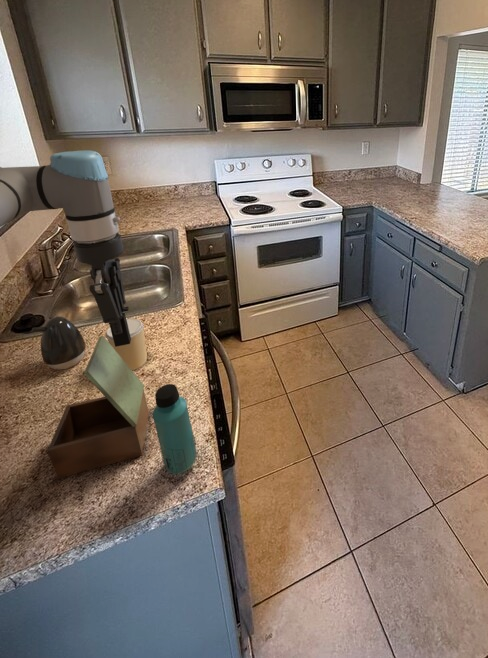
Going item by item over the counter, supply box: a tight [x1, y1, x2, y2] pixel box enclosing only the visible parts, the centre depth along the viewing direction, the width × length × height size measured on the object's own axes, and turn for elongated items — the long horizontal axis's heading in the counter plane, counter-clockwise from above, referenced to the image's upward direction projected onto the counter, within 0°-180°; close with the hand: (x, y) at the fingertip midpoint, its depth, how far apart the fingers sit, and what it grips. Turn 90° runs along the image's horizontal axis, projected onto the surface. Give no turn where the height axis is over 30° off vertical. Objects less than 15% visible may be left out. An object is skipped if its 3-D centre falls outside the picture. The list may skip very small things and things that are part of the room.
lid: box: [83, 335, 145, 427], centre depth 76 cm, size 17×12×1 cm
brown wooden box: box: [46, 390, 150, 479], centre depth 78 cm, size 16×12×8 cm
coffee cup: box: [105, 318, 148, 371], centre depth 102 cm, size 9×9×12 cm
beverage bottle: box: [152, 383, 198, 475], centre depth 71 cm, size 6×7×20 cm
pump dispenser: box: [31, 316, 87, 370], centre depth 101 cm, size 10×10×15 cm
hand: (123, 343), depth 73 cm, fingers closed
